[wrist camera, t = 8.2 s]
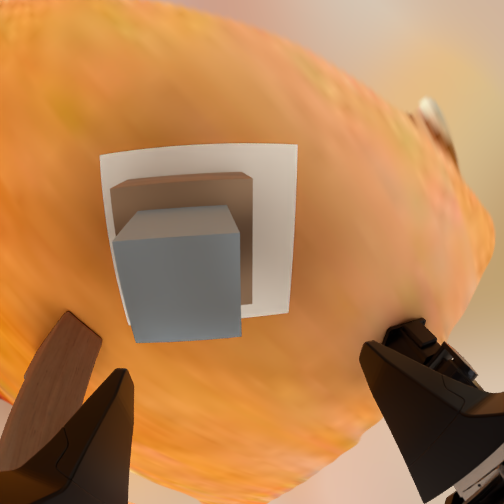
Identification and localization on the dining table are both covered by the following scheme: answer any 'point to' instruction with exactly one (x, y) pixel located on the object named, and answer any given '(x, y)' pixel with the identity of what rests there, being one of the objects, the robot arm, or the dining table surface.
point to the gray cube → (181, 274)
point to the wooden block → (49, 391)
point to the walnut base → (193, 205)
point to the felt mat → (264, 204)
